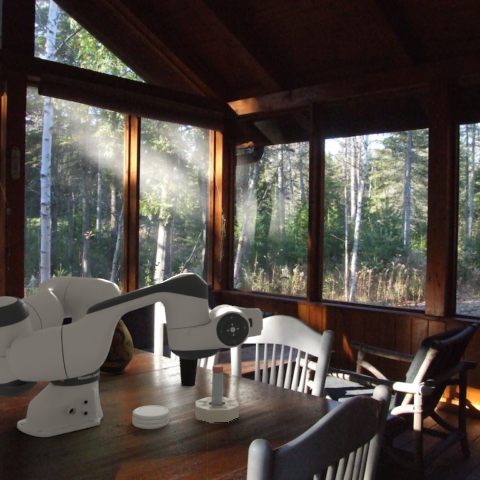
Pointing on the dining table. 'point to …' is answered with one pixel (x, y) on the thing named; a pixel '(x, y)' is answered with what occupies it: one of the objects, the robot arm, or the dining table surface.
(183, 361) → the drinking cup
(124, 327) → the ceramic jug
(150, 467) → the dining table surface
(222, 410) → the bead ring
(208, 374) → the dining table surface
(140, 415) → the white short cylinder
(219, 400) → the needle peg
